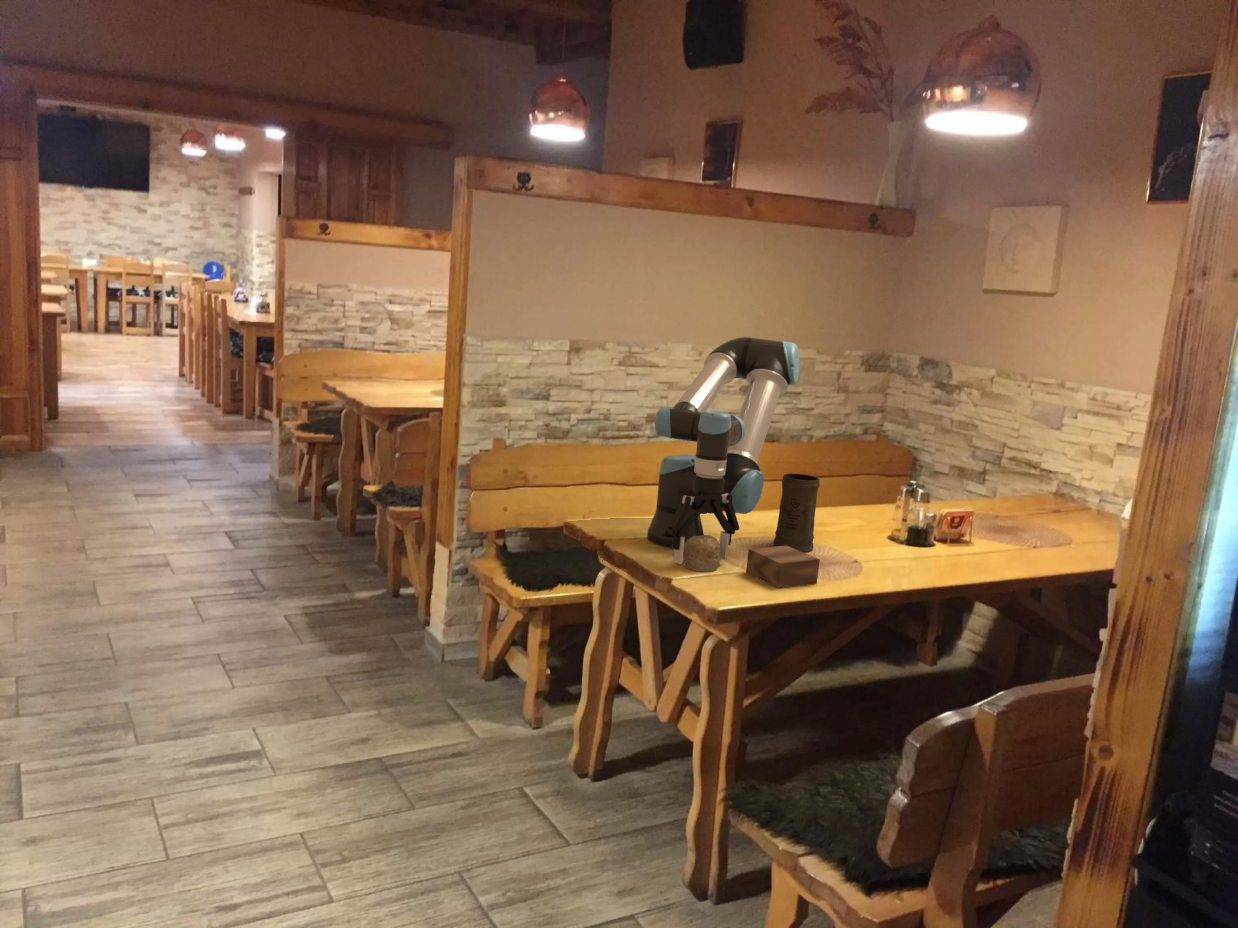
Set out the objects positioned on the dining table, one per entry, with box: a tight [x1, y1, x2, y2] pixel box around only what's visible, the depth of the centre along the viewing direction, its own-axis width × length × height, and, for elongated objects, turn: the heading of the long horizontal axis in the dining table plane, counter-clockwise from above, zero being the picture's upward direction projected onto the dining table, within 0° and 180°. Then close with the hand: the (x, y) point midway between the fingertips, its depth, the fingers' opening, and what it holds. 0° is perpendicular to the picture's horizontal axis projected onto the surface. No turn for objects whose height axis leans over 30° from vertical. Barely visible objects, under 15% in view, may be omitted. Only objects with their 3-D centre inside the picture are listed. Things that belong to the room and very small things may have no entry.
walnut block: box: [745, 546, 821, 589], centre depth 234 cm, size 12×12×6 cm
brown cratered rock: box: [682, 534, 721, 573], centre depth 238 cm, size 9×9×8 cm
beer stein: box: [772, 473, 821, 553], centre depth 264 cm, size 15×11×20 cm
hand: (700, 560), depth 238 cm, fingers open, 13 cm apart
